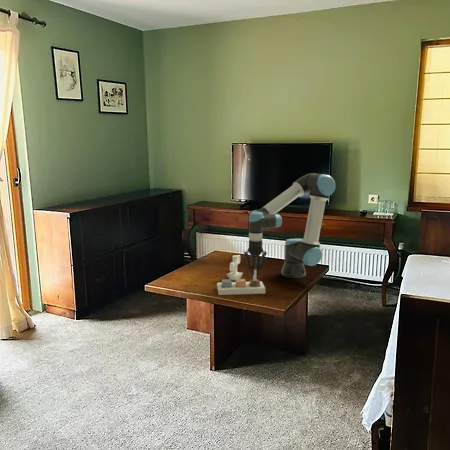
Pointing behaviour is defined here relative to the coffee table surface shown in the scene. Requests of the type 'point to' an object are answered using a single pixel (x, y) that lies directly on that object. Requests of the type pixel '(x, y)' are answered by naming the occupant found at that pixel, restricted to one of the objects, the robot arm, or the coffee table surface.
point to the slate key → (226, 283)
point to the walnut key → (254, 283)
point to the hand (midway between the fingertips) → (254, 280)
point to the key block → (240, 289)
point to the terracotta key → (240, 283)
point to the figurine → (234, 268)
